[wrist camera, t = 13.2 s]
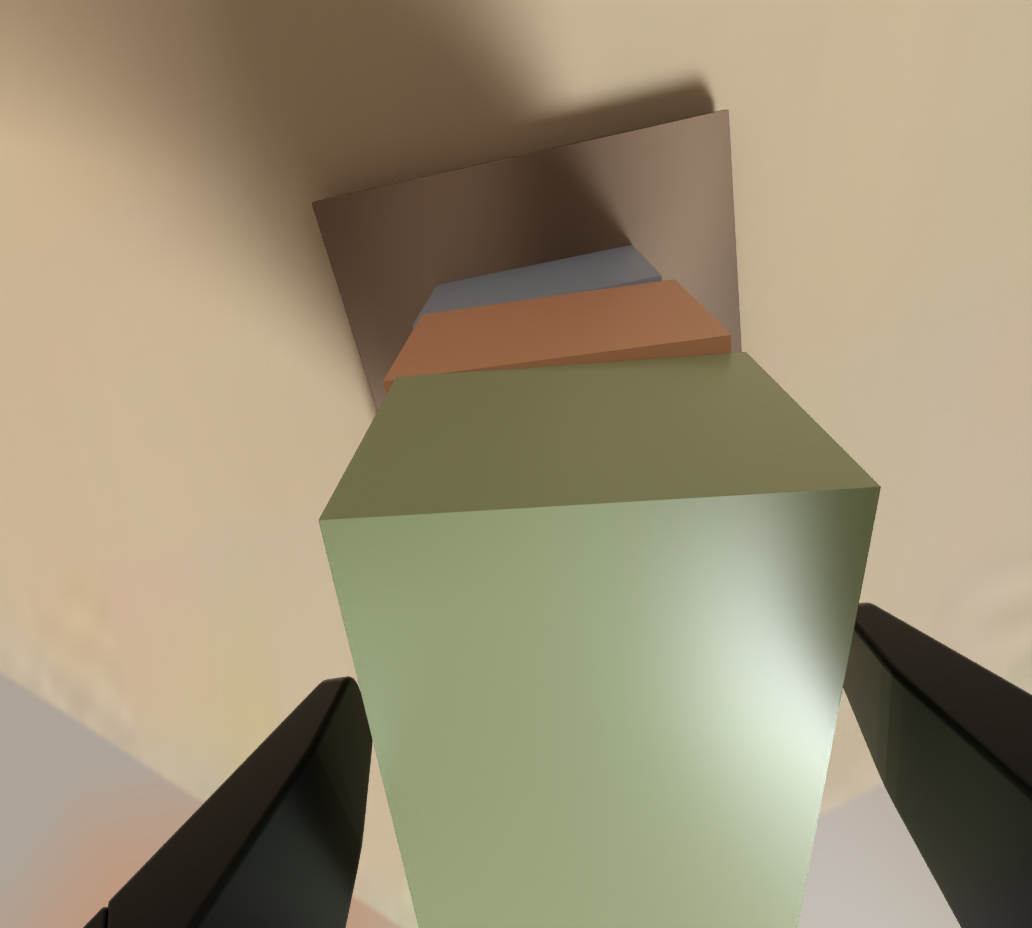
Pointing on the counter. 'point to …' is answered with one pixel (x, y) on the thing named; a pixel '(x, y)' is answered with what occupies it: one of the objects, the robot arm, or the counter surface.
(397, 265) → the walnut board
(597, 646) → the olive brick
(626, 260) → the base brick
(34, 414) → the counter surface
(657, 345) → the terracotta brick
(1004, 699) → the robot arm
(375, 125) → the counter surface
